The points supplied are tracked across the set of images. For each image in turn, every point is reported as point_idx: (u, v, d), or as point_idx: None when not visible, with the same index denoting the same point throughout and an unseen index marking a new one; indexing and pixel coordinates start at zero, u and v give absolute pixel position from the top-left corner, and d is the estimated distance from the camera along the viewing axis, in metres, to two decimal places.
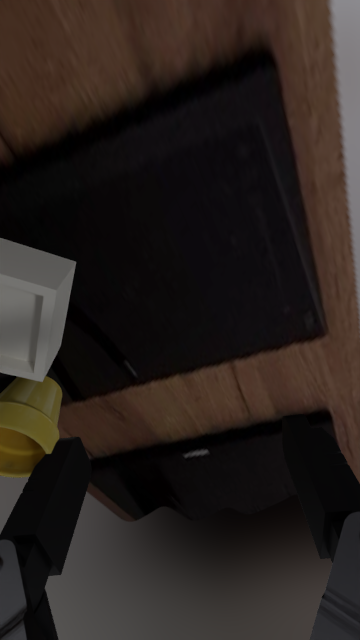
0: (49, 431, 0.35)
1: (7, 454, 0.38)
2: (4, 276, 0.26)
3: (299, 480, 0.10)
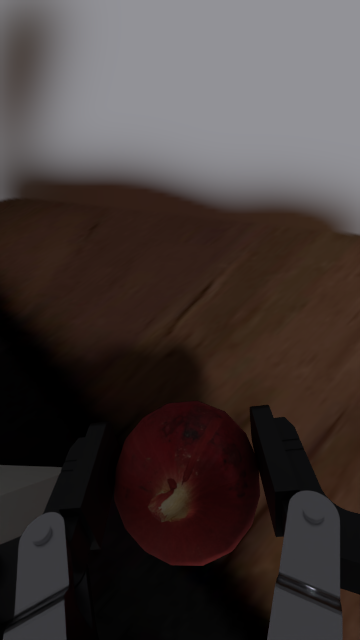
0: None
1: None
2: None
3: (261, 466, 0.11)
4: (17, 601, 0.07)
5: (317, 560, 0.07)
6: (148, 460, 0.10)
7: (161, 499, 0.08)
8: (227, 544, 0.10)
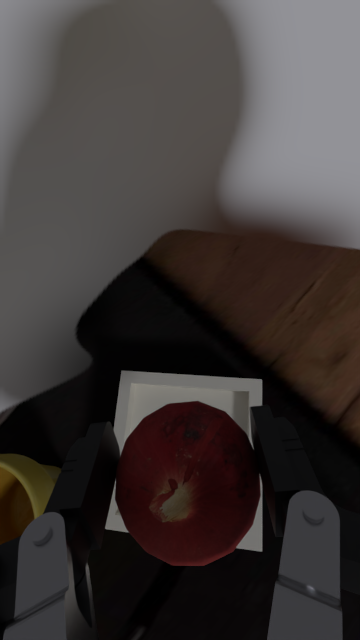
0: None
1: None
2: None
3: (261, 466, 0.11)
4: (17, 601, 0.07)
5: (317, 560, 0.07)
6: (149, 460, 0.10)
7: (162, 499, 0.08)
8: (228, 544, 0.10)
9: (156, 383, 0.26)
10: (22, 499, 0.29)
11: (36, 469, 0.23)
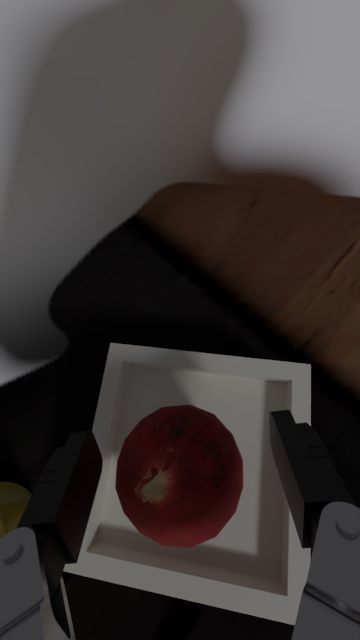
0: None
1: None
2: None
3: (284, 473, 0.10)
4: None
5: (349, 575, 0.06)
6: (138, 453, 0.12)
7: (143, 483, 0.10)
8: (206, 528, 0.11)
9: (158, 362, 0.18)
10: None
11: None
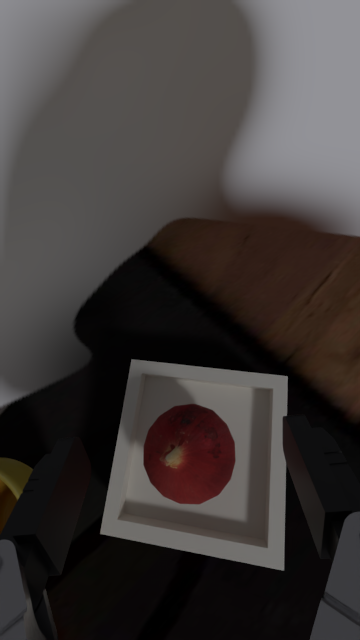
0: None
1: None
2: (282, 491, 0.20)
3: (299, 480, 0.10)
4: None
5: None
6: (160, 436, 0.17)
7: (166, 454, 0.15)
8: (209, 487, 0.17)
9: (169, 375, 0.23)
10: (12, 509, 0.26)
11: (29, 475, 0.20)
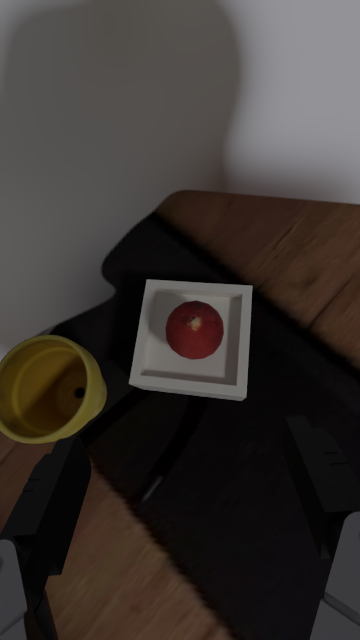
0: (78, 426, 0.29)
1: (11, 388, 0.31)
2: (246, 354, 0.31)
3: (299, 480, 0.10)
4: None
5: None
6: (183, 315, 0.27)
7: (191, 320, 0.26)
8: (212, 343, 0.28)
9: (173, 288, 0.34)
10: (63, 391, 0.37)
11: (82, 347, 0.31)
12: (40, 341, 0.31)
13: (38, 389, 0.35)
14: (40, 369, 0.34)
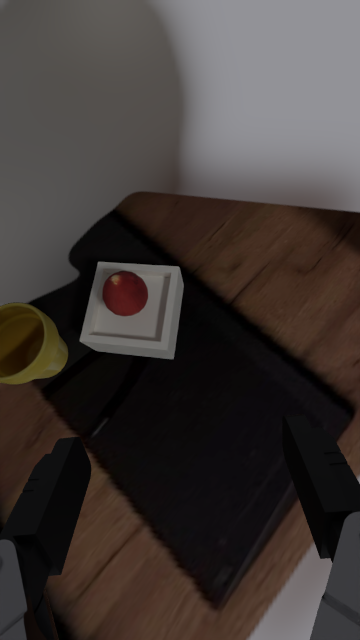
0: (37, 371, 0.38)
1: None
2: (170, 318, 0.40)
3: (299, 480, 0.10)
4: None
5: None
6: (110, 277, 0.37)
7: (112, 276, 0.35)
8: (132, 296, 0.36)
9: (118, 268, 0.43)
10: (33, 352, 0.46)
11: None
12: (10, 307, 0.40)
13: (11, 349, 0.43)
14: (13, 333, 0.43)
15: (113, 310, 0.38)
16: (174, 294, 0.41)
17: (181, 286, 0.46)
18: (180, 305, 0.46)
